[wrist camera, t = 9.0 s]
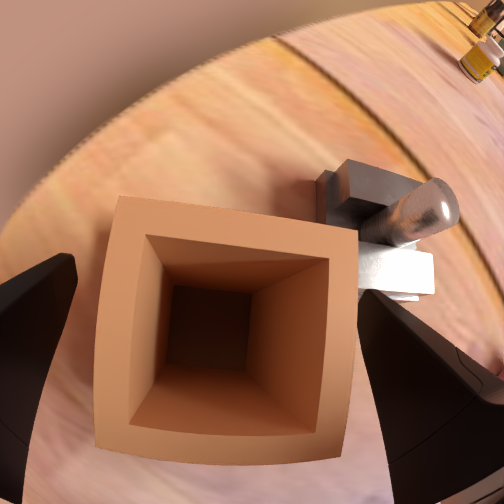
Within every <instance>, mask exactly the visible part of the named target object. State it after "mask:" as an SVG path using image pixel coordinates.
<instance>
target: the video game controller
mask: <svg viewBox="0 0 504 504" xmlns="http://www.w3.org/2000/svg"><path fill="white" fill-rule="evenodd" d="M498 377H499V378H500V379H501V380H503V381H504V369H503V370H502V371H501V373H500V374H499V376H498Z"/></svg>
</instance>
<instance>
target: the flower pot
mask: <svg viewBox="0 0 504 504" xmlns="http://www.w3.org/2000/svg"><path fill="white" fill-rule="evenodd" d="M498 45H499V46H500V47H501V48H502V49H503V51H504V40H503V39H501V40H500V42H499V43H498ZM499 61H500V65H499V66H498V67H497V70H498V71H499V72H500V73H501V75H502V76H503V77H504V56H503V57H502V58H499Z"/></svg>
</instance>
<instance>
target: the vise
mask: <svg viewBox="0 0 504 504" xmlns="http://www.w3.org/2000/svg"><path fill="white" fill-rule="evenodd" d="M458 220H459V205H458V202H457V199H456V196H455V194H454V192H453V191H452V189H451V188H450V187H449V185H448V184H447V183H446V182H444V181H443V180H441V179H439V178H432V179H431V180H429V181H427V182H426V183H424V184H423V183H421V182H419V181H416V180H413V179H410V178H407V177H405V176H402V175H399V174H396V173H393V172H390V171H387V170H383V169H380V168H377V167H374V166H371V165H367V164H364V163H360V162H357V161H354V160H350V159H347V160H346V161H345V162H344V163H343V164H342V165H341V166H340V167H339V168H338V169H337V170H336V171H335V172H332V171H327V170H325V171H324V172H323V173H322V174H321V175H320V177H319V178H318V179H317V180H316V223H319V224H324V225H330V226H336V227H341V228H347V229H352V230H357V231H358V300H360V298H361V296H362V294H363V292H364V291H365V290H366V289H368V288H370V289H378V290H379V291H381V292H382V293H384V294H385V295H386V296H388V297H389V298H391V299H392V300H394V301H395V302H399V303H406V302H412V301H418V296H424V295H429V294H434V275H433V257H432V254H429V253H424V252H419V251H417V250H416V242H417V241H419V240H422V239H424V238H426V237H429V236H431V235H434V234H436V233H438V232H441V231H443V230H445V229H448V228H450V227H452V226H454V225H456V224H457V222H458Z"/></svg>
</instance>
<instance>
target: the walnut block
mask: <svg viewBox="0 0 504 504" xmlns="http://www.w3.org/2000/svg"><path fill="white" fill-rule="evenodd" d="M251 300H252V294H247V293H237V292H228V291H219V290H210V289H202V288H194V287H186V286H178V285H174V289H173V297H172V306H171V316H170V326H169V337H168V349H167V362H166V363H168V364H176V365H184V366H193V367H202V368H213V369H226V370H241V371H246V359H247V347H248V336H249V324H250V312H251Z"/></svg>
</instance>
